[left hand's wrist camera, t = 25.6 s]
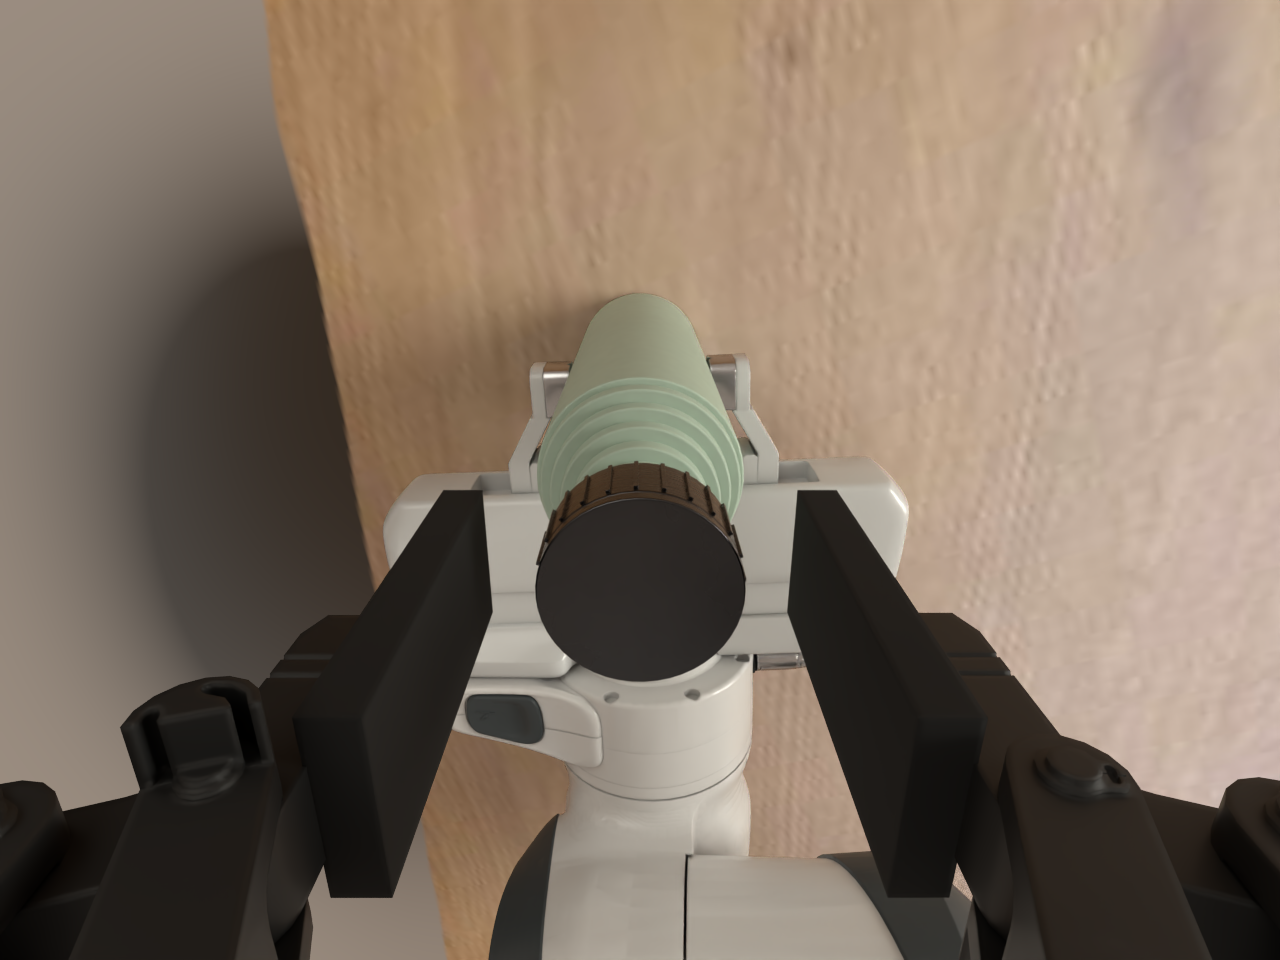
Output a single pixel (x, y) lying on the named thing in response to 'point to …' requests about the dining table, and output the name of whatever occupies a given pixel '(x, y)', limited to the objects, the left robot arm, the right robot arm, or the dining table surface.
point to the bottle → (640, 405)
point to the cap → (640, 573)
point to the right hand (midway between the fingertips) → (637, 360)
